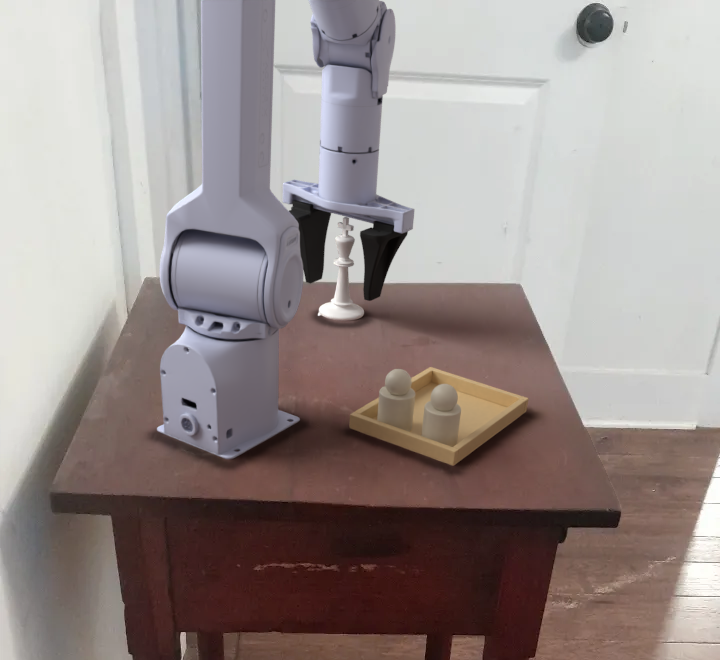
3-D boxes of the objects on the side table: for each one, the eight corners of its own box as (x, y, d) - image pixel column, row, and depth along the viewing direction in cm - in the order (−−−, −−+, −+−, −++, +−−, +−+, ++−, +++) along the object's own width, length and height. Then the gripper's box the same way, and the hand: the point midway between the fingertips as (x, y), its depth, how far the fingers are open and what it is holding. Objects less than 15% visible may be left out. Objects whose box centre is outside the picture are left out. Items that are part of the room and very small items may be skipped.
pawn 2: (445, 454, 80) (452, 396, 77) (414, 443, 82) (420, 385, 78) (463, 441, 82) (471, 384, 79) (432, 431, 84) (439, 374, 80)
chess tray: (452, 470, 79) (455, 451, 78) (348, 432, 83) (349, 414, 82) (525, 415, 88) (529, 398, 87) (428, 383, 92) (430, 366, 91)
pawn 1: (399, 438, 82) (405, 380, 79) (369, 427, 83) (374, 370, 80) (418, 426, 84) (424, 369, 81) (389, 415, 85) (393, 359, 82)
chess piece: (345, 328, 102) (350, 228, 96) (308, 316, 104) (311, 216, 98) (373, 316, 105) (380, 218, 99) (337, 304, 107) (341, 207, 101)
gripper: (435, 154, 94) (421, 296, 102) (313, 127, 100) (309, 263, 108) (396, 166, 89) (384, 314, 98) (269, 137, 95) (269, 279, 104)
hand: (342, 289), depth 103 cm, fingers open, 7 cm apart
